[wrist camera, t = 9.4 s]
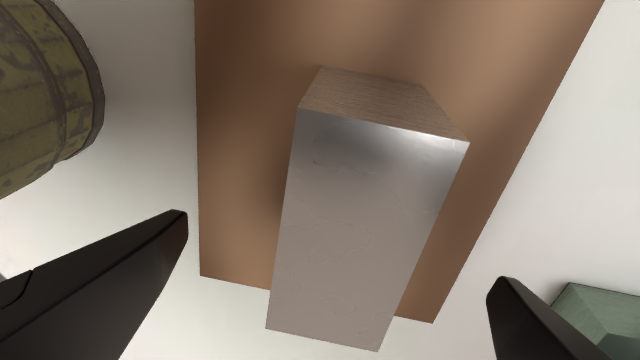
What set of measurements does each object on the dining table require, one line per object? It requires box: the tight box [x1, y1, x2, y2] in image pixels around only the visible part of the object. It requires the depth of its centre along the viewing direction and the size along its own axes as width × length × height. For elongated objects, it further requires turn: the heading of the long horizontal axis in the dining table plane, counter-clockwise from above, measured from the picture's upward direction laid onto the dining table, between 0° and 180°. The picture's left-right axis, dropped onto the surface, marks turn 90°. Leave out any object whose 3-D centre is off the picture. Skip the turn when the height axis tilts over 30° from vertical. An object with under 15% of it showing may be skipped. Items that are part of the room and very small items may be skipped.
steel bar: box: [265, 65, 470, 352], centre depth 12 cm, size 4×8×6 cm, turn 170°
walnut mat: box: [194, 0, 605, 324], centre depth 15 cm, size 14×18×1 cm
